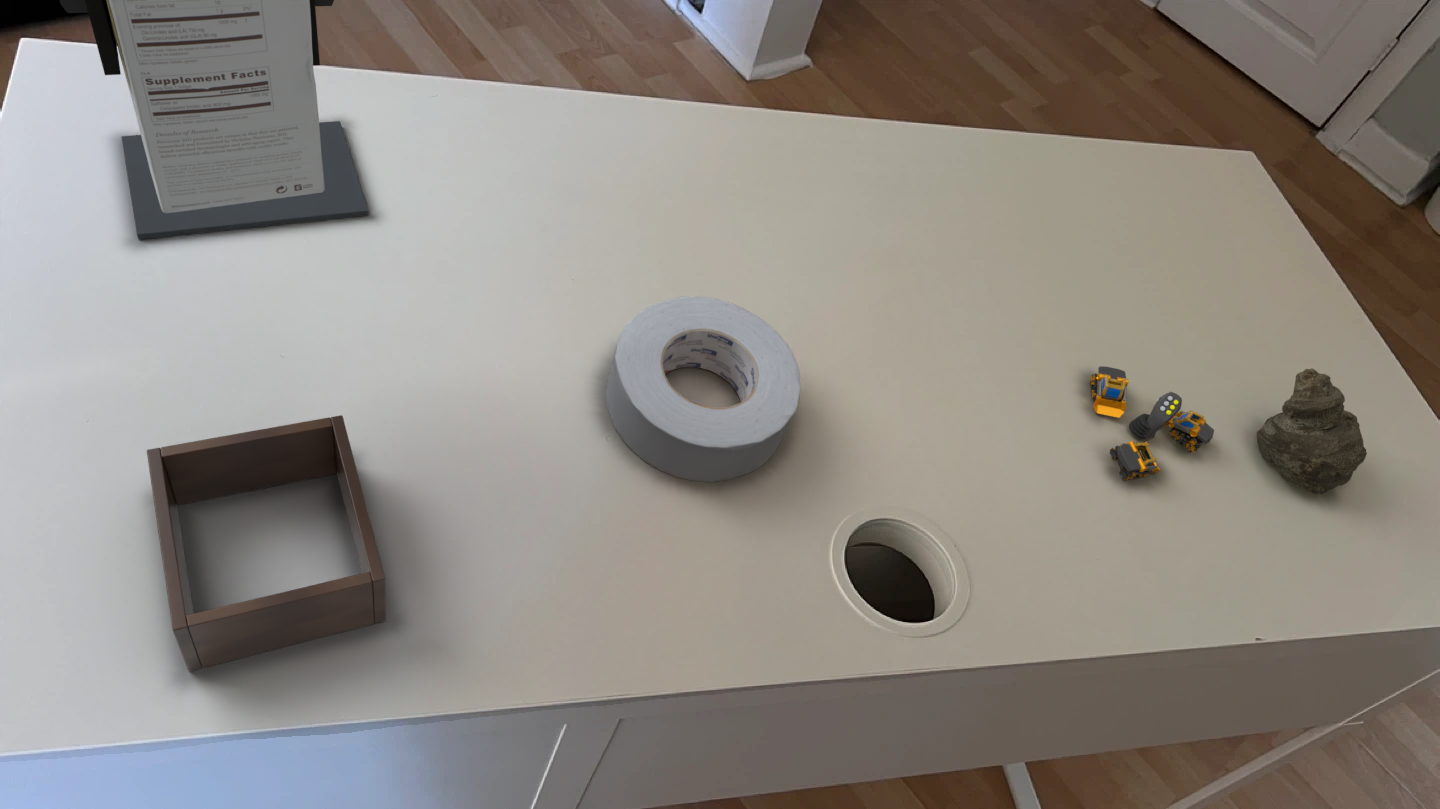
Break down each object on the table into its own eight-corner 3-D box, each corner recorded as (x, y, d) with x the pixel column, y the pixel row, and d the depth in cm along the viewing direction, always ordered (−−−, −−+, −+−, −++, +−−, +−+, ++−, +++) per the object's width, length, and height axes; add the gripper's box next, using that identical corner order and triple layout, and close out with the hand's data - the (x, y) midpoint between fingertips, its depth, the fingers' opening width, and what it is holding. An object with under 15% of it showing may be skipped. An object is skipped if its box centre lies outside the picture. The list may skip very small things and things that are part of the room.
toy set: (1052, 437, 96) (1078, 405, 92) (1095, 368, 103) (1121, 336, 99) (1170, 515, 93) (1201, 486, 90) (1206, 439, 100) (1236, 409, 97)
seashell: (1338, 354, 103) (1256, 354, 100) (1448, 396, 92) (1361, 397, 89) (1304, 462, 107) (1224, 465, 103) (1406, 514, 96) (1321, 518, 93)
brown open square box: (188, 672, 66) (172, 630, 62) (162, 498, 73) (146, 449, 68) (386, 621, 71) (385, 578, 67) (345, 462, 78) (342, 414, 73)
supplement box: (132, 111, 65) (62, -167, 52) (290, 94, 69) (262, -167, 56) (162, 219, 61) (93, -55, 48) (329, 195, 65) (308, -64, 52)
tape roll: (796, 487, 86) (814, 452, 82) (607, 477, 82) (618, 439, 78) (773, 341, 95) (789, 303, 91) (603, 326, 91) (612, 286, 87)
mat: (138, 239, 86) (136, 234, 85) (122, 141, 91) (121, 135, 91) (368, 215, 93) (368, 210, 92) (340, 125, 99) (340, 120, 98)
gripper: (396, -426, 48) (400, 8, 66) (-212, -505, 40) (-22, 20, 57) (435, -354, 45) (428, 86, 62) (-227, -424, 36) (-18, 111, 53)
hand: (213, 54), depth 59 cm, fingers closed on supplement box, 9 cm apart
